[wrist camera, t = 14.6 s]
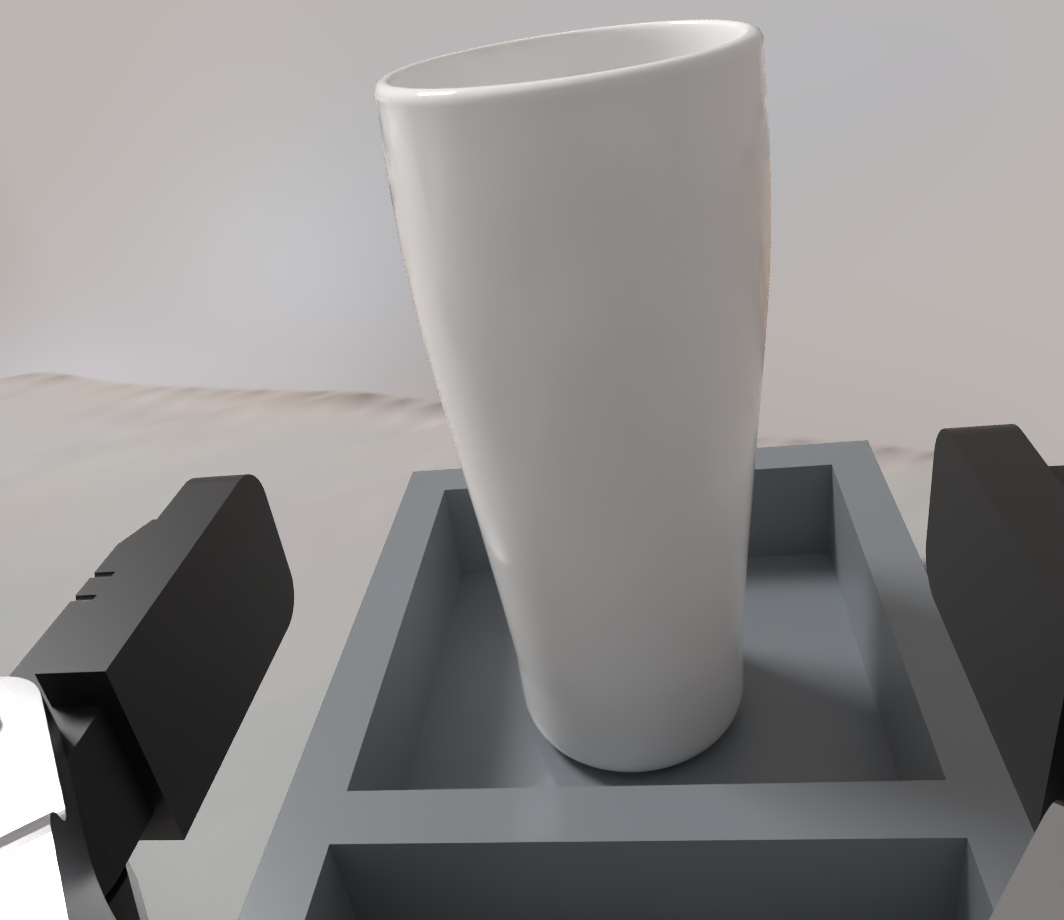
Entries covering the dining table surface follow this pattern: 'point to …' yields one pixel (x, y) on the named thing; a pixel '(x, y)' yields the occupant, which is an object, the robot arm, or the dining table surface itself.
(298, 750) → the dining table surface
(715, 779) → the divided tray
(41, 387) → the dining table surface
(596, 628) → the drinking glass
